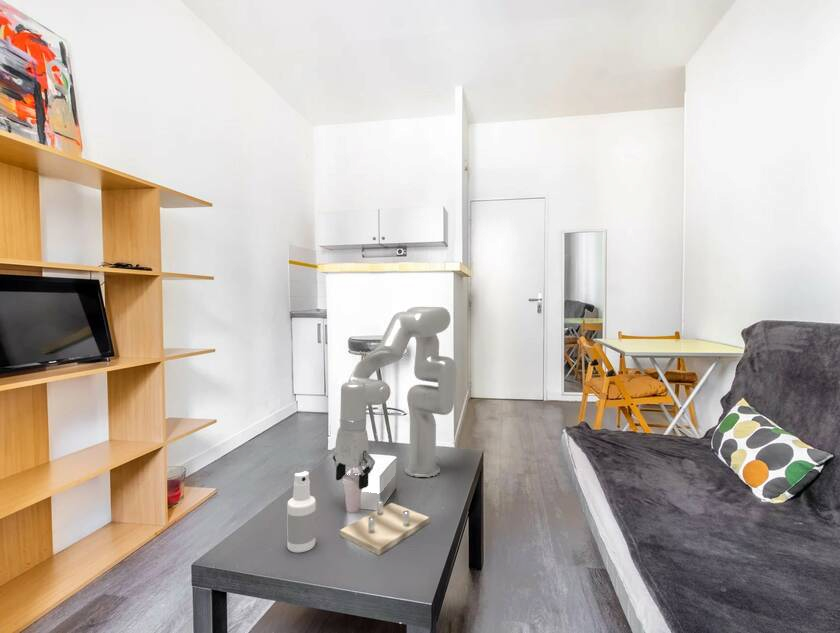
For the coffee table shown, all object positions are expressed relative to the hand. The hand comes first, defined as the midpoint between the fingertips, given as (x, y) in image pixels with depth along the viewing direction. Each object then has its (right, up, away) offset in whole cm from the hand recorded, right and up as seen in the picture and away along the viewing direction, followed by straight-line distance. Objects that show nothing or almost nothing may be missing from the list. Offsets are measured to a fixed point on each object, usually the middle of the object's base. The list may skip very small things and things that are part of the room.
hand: (351, 483), depth 123 cm
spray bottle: (-10, -8, -18) cm, 22 cm away
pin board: (+11, -8, -10) cm, 17 cm away
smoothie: (0, -8, +1) cm, 8 cm away
